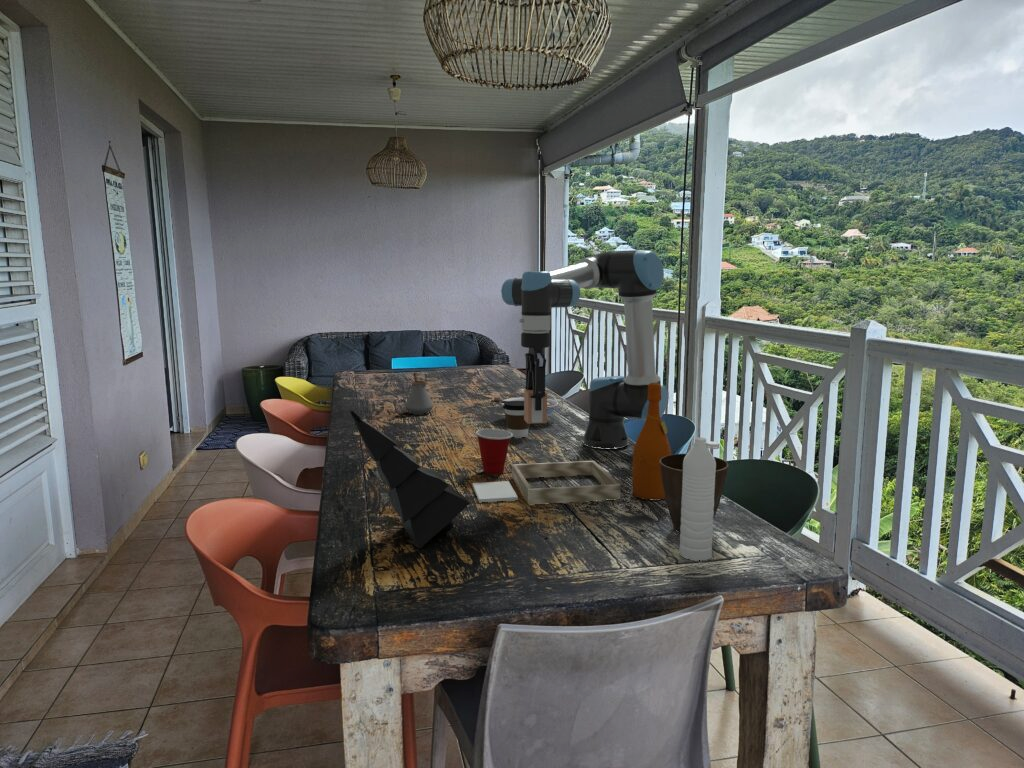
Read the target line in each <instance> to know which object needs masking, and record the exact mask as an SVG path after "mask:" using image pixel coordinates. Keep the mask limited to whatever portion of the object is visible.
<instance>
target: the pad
mask: <svg viewBox="0 0 1024 768" xmlns="http://www.w3.org/2000/svg"><path fill="white" fill-rule="evenodd" d="M472 489H473V492H474V494H475V497H476V496H477V497H476V499H477V501H479V502H478V503H479V504H483V503H482V502H488V503H498V502H497V501H506V502H516V501H515V500H518V501H519V497H518V495H517V493H516V491H515V490H514V488H513V486H512V484H511V483H510V481H509V480H505V481H486V482H482V481H481V482H472Z"/></svg>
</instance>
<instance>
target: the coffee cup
mask: <svg viewBox="0 0 1024 768" xmlns="http://www.w3.org/2000/svg"><path fill="white" fill-rule="evenodd" d="M503 408H504V409H505V411H504V416H505V423H506V428H507V431H508V432H511V433H512V434H513V436H512V437H515V438H514V439H523V438H522V437H525V438H527V437H528V435H529V428H530V427H531V426H530V425H531V424H528V423H527V422H526V421H525V420H524V401H508V402H505V403H504V405H503ZM503 408H502V409H503ZM504 409H503V410H504ZM512 437H511V438H512Z"/></svg>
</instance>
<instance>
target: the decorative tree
mask: <svg viewBox="0 0 1024 768" xmlns="http://www.w3.org/2000/svg"><path fill="white" fill-rule="evenodd" d="M349 412H350V415H351V417H352V419H353V420H354V424H355V426H356V429H357V431H358V433H359V434H360V437H361V440H362V442H363V444H364V447H365V448H366V450H367V452H368V453H369V456H370V458H371V459H372V460H373V461H374V462H376V463H375V464H376V466H377V469H378V472H379V474H380V475H381V477H382V479H383V480H384V482H385V483H386V485H387V487H388V491H389V498H390V505H391V507H392V509H393V511H394V512H395V513H396V514H397V515H398V516H399V517H400V519H401V521H402V528H403V529H404V531H406V532H407V535H408V536H409V539H410V540H411V539H412V540H413V541H414V542H415V543H414V542H413V541H412V540H411V541H412V542H413V543H414V544H415V546H416V545H417V546H418V547H417V546H416V547H417V548H418V549H419V548H420V549H421V548H422V547H424V546H425V544H427V543H428V542H429V541H430V540H431V539H432V538H433V537H435V536H436V535H437V534H440V535H446V534H447V533H449V532H450V531H451V529H453V526H454V523H453V522H452V521H453V520H454V519H455V518H456V517H457V516H458V515H459V514H460V513H462V511H464V510H465V509H466V508H467V507H468V506H469V505H470V504H471V502H470V501H469V500H468V499H467V498H466V497H465V496H464V495H463V494H462V493H461V492H459V491H458V490H456V488H454V487H453V485H452V484H450V483H448V482H447V481H446V480H445V479H444V478H443V476H442V475H440V473H439V472H437V471H436V470H434V469H432V468H428V467H426V466H421V465H420V464H418V462H417V461H416V459H415V457H414V456H413V455H411V454H409V453H408V452H406V451H405V450H402V449H400V448H399V447H396V446H397V443H396V442H395V441H394V440H392V439H391V438H390V437H389V436H388V435H386V434H385V433H384V432H383V431H381V430H379V429H377V428H376V427H375V426H374V425H372V424H371V423H369V422H367V421H366V420H363V419H362V418H361V417H360V416H359V415H358V414H357V413H355V412H354V411H353V410H349Z"/></svg>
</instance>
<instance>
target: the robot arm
mask: <svg viewBox="0 0 1024 768" xmlns="http://www.w3.org/2000/svg"><path fill="white" fill-rule="evenodd" d="M664 271H665V270H664V265H663V262H662V260H661V258H660V257H659V256H658V254H657V253H656V252H655V251H653V250H645V249H644V250H643V249H633V250H609V251H604V252H600V253H597V254H593V255H591V256H590V255H589V256H587V257H584V258H581V259H579V260H577V262H576V263H574V264H571V265H566V266H564V267H559V268H555V269H551V270H548V271H538V270H537V271H529V270H528V271H524V272H523V273H522V277H521V278H517V277H514V278H509V279H508V278H507V279H505V281H504V282H503V283H502V286H501V290H500V293H501V298H502V300H503V302H504V303H505V304H506V305H509V306H515V307H518V306H519V307H521V318H520V319H519V320H518V321H519V323H521V331H523V332H521V334H520V336H521V337H520V345H521V347H523V348H527V349H528V352H525V354H524V357H525V386H524V387H525V389H524V390H533V396H530V397H531V398H532V424H544V423H543V397H545V392H546V365H547V359H546V357H545V354H543V350H544V348H549V347H550V346H551V334H550V332H549V331H551V325H552V324H551V323H552V322H551V320H552V318H551V309H553V308H565V309H567V308H569V307H573V306H575V305H576V304H578V302H579V301H580V297H581V289H586V290H591V289H594V288H595V289H596V288H598V289H599V288H600V289H601V288H602V289H604V288H605V289H618V297H619V298H620V299H621V300H622V301H623V308H624V311H623V312H624V324H625V326H624V327H625V341H626V342H625V343H626V359H627V360H626V361H627V375H626V376H623V375H613V376H611V375H610V376H609V375H608V376H601V377H595V378H593V379H592V380H590V382H589V390H588V393H589V395H588V403H589V404H588V424H587V426H586V429H585V432H584V435H583V441H582V442H583V443H584V444H586V445H588V446H593V447H601V448H614V447H622V446H625V445H627V444H628V445H629V437H628V436H629V435H628V433H627V429H626V425H625V421H624V420H625V418H628V419H633V420H639V421H640V420H641V421H644V422H645V421H646V418H647V413H648V406H649V401H648V399H647V396H648V384H650V383H659V384H660V385H661V377H660V376H659V375H658V374H657V373H656V359H655V357H656V355H655V337H654V335H655V332H654V315H653V312H654V310H653V299H654V297H656V295H658V294H657V293H658V291H657V290H658V289H660V287H662V285H663V282H664V281H663V280H664V278H665V274H664V273H665V272H664ZM669 399H670V396H669V390H668V388H667V387H666V386H665V385H663V384H662V385H661V400H660V401H659V413H660V419H662V418H663V415H664V414H665V412H666V409H667V407H668V404H669ZM584 444H583V445H584Z"/></svg>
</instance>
